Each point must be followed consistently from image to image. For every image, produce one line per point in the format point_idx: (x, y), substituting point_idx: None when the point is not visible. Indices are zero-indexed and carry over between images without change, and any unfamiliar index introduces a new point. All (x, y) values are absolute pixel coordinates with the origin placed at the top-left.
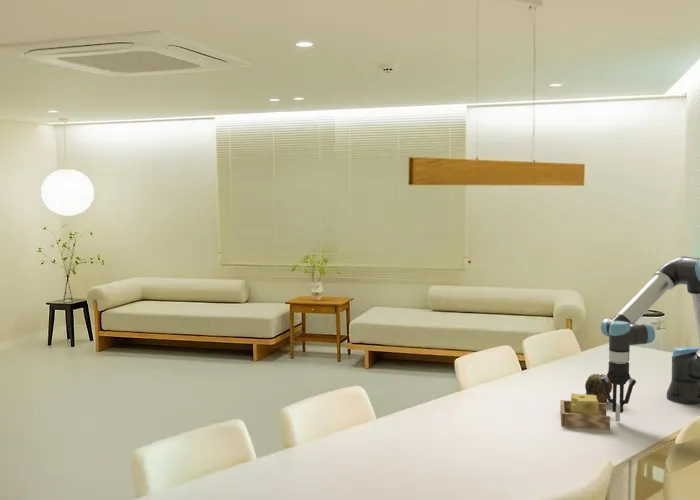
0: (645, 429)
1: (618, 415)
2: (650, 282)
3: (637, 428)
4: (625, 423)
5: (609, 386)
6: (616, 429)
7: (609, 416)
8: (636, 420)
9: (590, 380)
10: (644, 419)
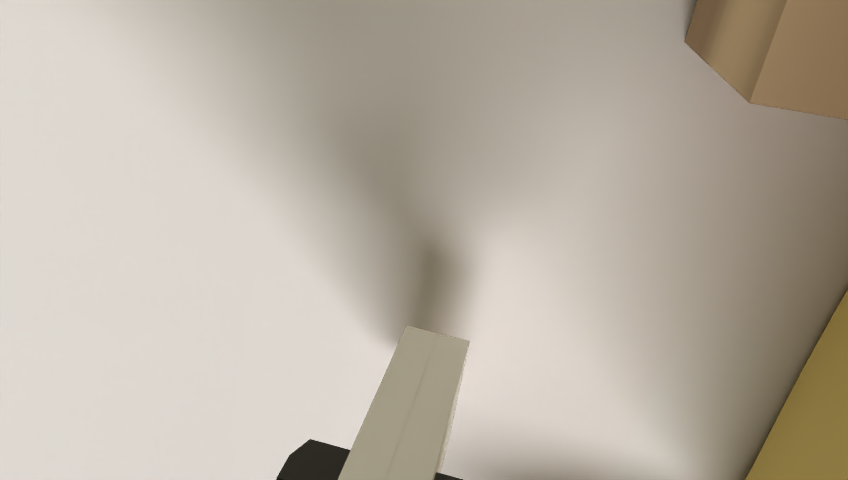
0: (75, 80)
1: (403, 396)
2: None
3: (184, 120)
4: (325, 335)
5: None
6: (550, 26)
7: (789, 61)
8: (176, 434)
9: None
10: (91, 458)
